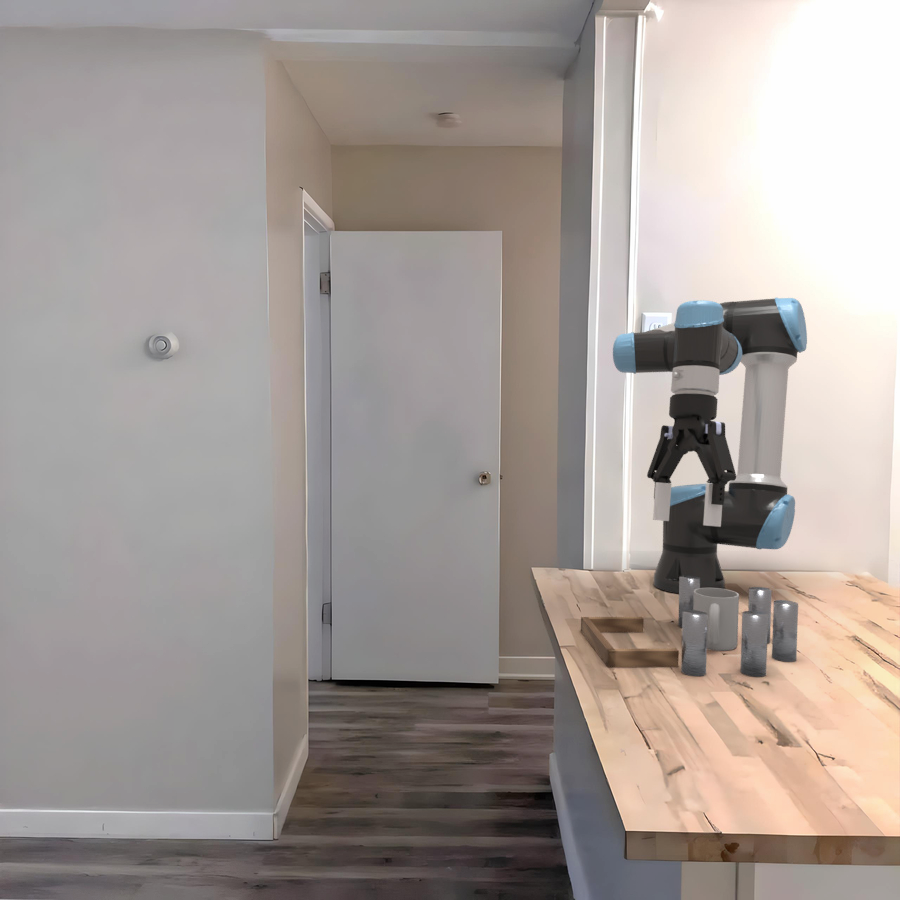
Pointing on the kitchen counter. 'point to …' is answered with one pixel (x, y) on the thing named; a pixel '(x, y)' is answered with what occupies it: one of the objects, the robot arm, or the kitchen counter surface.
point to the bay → (625, 657)
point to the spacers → (752, 630)
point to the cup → (719, 616)
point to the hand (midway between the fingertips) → (685, 523)
